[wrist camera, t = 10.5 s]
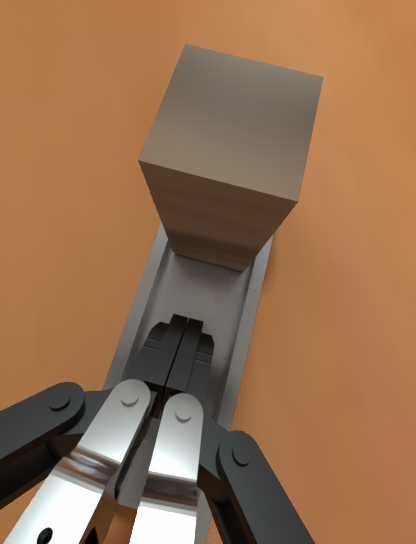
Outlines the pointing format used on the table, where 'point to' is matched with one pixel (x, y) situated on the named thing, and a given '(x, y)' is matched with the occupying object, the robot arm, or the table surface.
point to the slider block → (228, 153)
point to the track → (217, 322)
